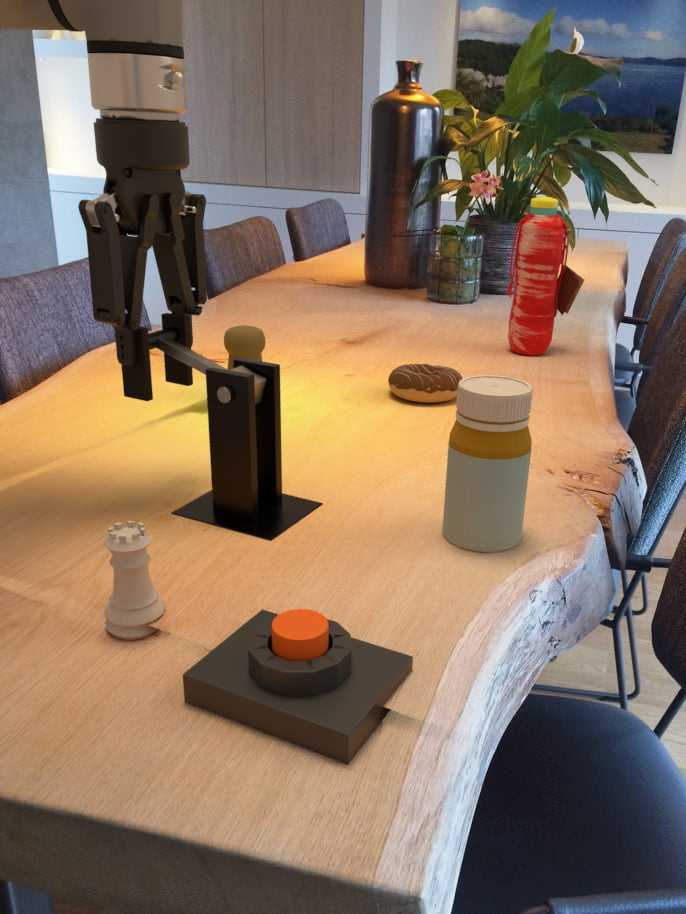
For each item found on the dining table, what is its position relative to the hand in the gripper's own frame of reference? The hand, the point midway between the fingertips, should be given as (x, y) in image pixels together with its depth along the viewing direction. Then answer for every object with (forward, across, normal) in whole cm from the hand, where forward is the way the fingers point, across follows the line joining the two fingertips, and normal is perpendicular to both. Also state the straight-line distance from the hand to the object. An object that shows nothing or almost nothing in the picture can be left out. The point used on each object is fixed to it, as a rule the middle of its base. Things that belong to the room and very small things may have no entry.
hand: (159, 389), depth 77 cm
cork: (+11, +27, +9) cm, 31 cm away
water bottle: (+11, +80, -14) cm, 82 cm away
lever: (-2, 0, -5) cm, 5 cm away
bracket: (+11, 0, -10) cm, 15 cm away
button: (+7, -20, -28) cm, 35 cm away
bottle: (+11, +6, -31) cm, 33 cm away
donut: (+11, +46, -8) cm, 48 cm away
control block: (+11, -20, -28) cm, 36 cm away
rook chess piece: (+11, -19, -13) cm, 26 cm away
